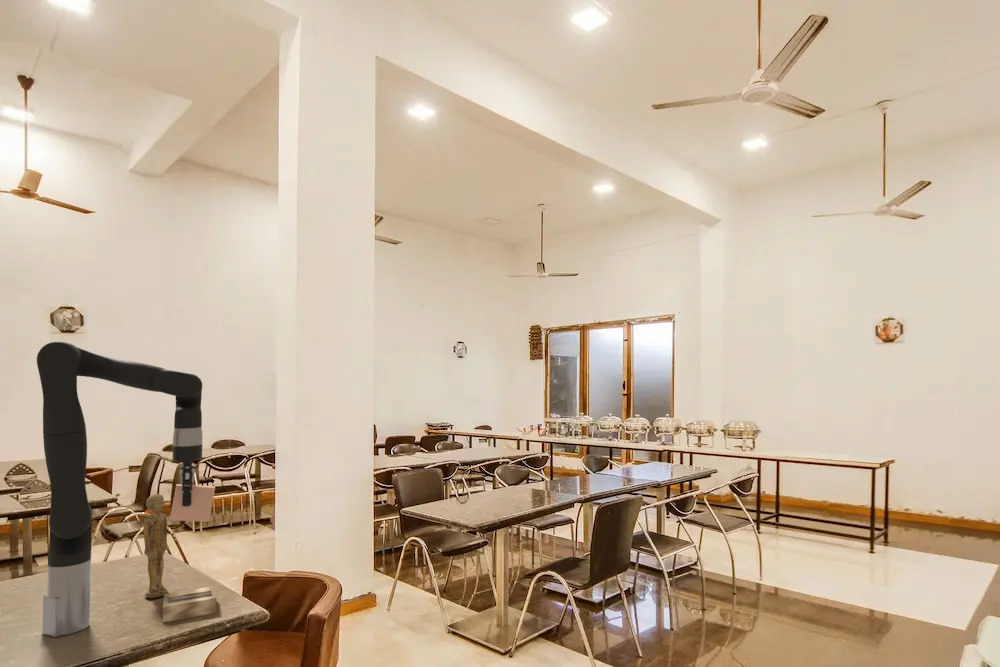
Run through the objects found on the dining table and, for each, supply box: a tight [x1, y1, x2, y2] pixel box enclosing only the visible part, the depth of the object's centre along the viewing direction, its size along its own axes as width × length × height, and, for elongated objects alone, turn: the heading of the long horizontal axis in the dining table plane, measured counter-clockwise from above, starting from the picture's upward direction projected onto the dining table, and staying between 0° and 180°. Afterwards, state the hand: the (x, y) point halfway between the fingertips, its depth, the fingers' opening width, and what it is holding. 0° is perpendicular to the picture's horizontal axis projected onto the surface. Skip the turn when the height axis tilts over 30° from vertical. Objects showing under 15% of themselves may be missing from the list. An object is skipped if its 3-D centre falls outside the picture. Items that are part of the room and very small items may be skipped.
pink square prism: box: [169, 483, 216, 523], centre depth 173 cm, size 10×3×10 cm, turn 117°
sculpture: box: [143, 493, 170, 599], centre depth 182 cm, size 7×6×30 cm
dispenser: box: [162, 585, 217, 623], centre depth 170 cm, size 13×11×5 cm
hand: (186, 504), depth 172 cm, fingers closed on pink square prism, 2 cm apart
